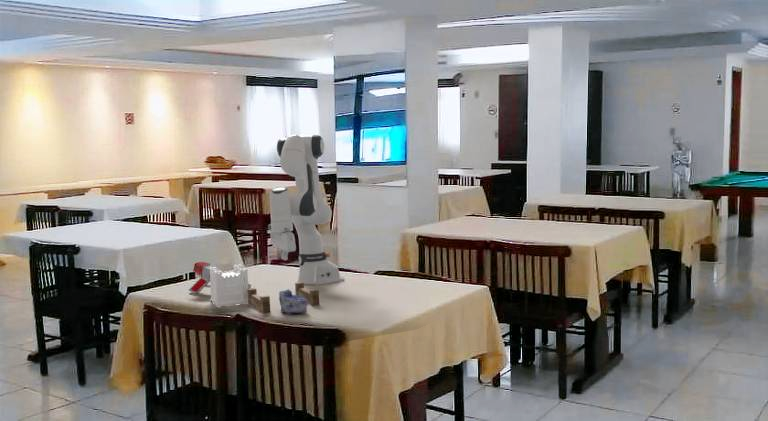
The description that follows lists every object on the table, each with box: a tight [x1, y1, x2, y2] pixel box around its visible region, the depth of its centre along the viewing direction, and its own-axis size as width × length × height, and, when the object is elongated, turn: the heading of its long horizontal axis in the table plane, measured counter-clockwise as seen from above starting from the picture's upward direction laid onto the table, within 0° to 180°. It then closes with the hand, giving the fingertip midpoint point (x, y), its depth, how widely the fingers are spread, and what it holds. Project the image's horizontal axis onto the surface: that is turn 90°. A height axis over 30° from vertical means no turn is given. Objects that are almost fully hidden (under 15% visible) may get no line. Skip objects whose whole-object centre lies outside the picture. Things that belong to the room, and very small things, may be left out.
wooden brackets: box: [247, 282, 321, 314], centre depth 329 cm, size 25×20×6 cm
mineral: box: [278, 289, 308, 315], centre depth 314 cm, size 14×10×10 cm
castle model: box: [209, 264, 249, 308], centre depth 336 cm, size 14×14×15 cm
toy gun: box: [188, 261, 252, 295], centre depth 354 cm, size 7×28×15 cm, turn 69°
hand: (284, 259), depth 326 cm, fingers closed
